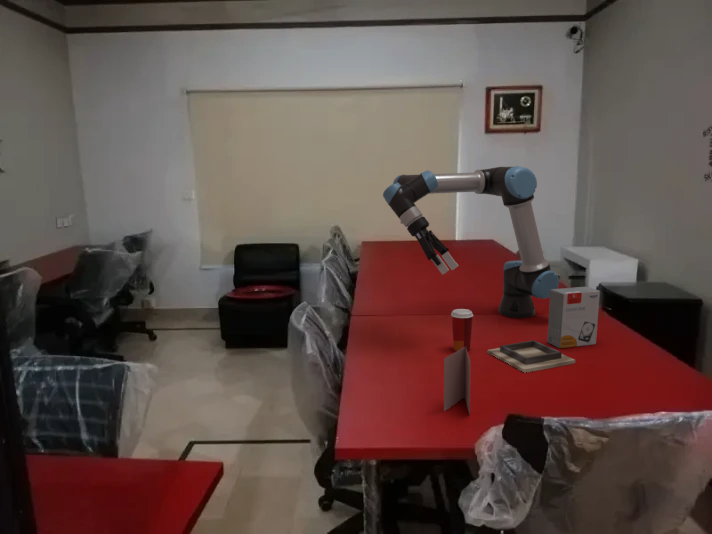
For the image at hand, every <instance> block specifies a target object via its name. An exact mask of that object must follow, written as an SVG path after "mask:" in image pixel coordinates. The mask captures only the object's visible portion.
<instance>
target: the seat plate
mask: <svg viewBox="0 0 712 534" xmlns="http://www.w3.org/2000/svg"><path fill="white" fill-rule="evenodd" d="M487 354H488V355H490V356H492V355H493V356H495V357H496V358H495V357H494V358H495V359H497V358H498V360H499V359H500V361H501V360H502V361H501V362H503V361H504V362H503V363H505V362H506V363H508V364H509V365H508V364H507V365H508V366H510V365H511V366H510V367H512V366H513V367H512V368H514V367H515V368H514V369H516V368H517V369H516V370H518V371H520V372H521V371H522V373H523V372H524V374H526V372H527V373H531V372H532V371H533V372H537V371H542V370H547V369H553V368H557V367H558V368H559V367H563V366H568V365H575V364H576V359H574V358H572V357H569V356H567V355H565V354H563V353H562V352H561V351H559V350H557V349H554V348H553V347H551V346H547V345H545V344H543V343H541V342H538V341H536V340H534V339H532V340H528V341H521V342H516V343H515V342H514V343H510V344H504V345H503V344H502V345H500V346H499V347H497V348H491V349H487ZM493 356H492V357H493ZM506 363H505V364H506Z"/></svg>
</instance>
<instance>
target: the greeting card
mask: <svg viewBox="0 0 712 534" xmlns="http://www.w3.org/2000/svg"><path fill="white" fill-rule="evenodd" d="M443 360H444V362H443V365H444V366H443V367H444V368H443V412H446V411H447V410H448V409H450V408H452V407H454V406H455V405H456V404H457V403H458V401H459V402H460V401H461V399H462V400H463V399H464V400H465V403H466V408H467V411H468V415H469V416H470V415H471V414H470V413H471V359H470V356H469V353H468V352H467V350H466V347H464V348H462V349H460V350H458V351H455V352H453V353H452V354H450V355H448V356H446V357H444V358H443ZM451 406H452V407H451Z"/></svg>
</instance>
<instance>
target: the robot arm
mask: <svg viewBox="0 0 712 534" xmlns="http://www.w3.org/2000/svg"><path fill="white" fill-rule="evenodd" d="M537 180H538V179H537V177H536V175H535V173H534V172H533V171H532V170H531V169H529V168H528V167H524V166H523V167H522V166H518V165H516V166H498V167H497V166H496V167H491V168H485V169H476V170H474V172H453V173H450V172H449V173H433V171H430V170H425V171H423V172H421V173H420V174H401V175H398V176H396V177H395V178H394V180H393V182H392V184H390V185H389V186H388V187H386V188H385V190H384V191H383V194H382V197H383V199H384V200H385V202H386V203H387V205H388V206H389V207H390V209H391V210H392V211H393V213H394V214H395V215H396V217H397V218H398V219H399V220H400V224H403V225H404V227H405V228H406V230H407V231H408V233H409V234H410V235H411V237H415V239H416V240H417V241H418V243H419V245H420V246H421V249H422V251H423V253H424V255H425V256H426V258H427V261H430V260H431V261H432V263H433V264H434V265H435V267H436V268H437V270H438V271H439V272H440V273H441V275H442V276H443V275H445V274H446V273H448V272H449V271H450V270H451V271H453V270H455V269H456V268H458V267H459V264H458V263H457V262H456V261H455V259H454V258H453V257H452V255H451V254H450V252H449V251H450V249H449V247H446V246H447V245H445V244H444V243H443V242H442V241H441V240H440V239H439V238H438V237H437V236H436V234H435V233H433V231H432V230H431V229H430V230H428V229H427V228H428V227H429V226H430V223H429V221H428V220H427V219H426V217H425V216H423V213H422V211H421V210H420V209H419V207H417V205H416V204H415V203H417V202H418V201H419V200H421V199H422V198H424V197H425V196H427V195H429V194H430V195H433V194H451V193H456V194H457V193H475V194H477V195H490V196H496V197H501V199H502V203H503V207H506V208H507V209H508V211H509V214H510V218H511V223H512V228H513V231H514V236H515V239H516V242H517V243H516V245H517V248H518V252H519V256H520V260H519V259H518V260H509V261H506V262H505V263H504V264H503V270H502V272H503V277H502V278H503V281H502V282H503V284H502V290H503V291H502V292H503V293H502V297H501V300H500V303H499V306H498V314H499V313H500V314H499V315H501V314H502V315H501V316H503V315H505V316H504V317H507V316H508V317H507V318H514V319H515V318H518V319H520V318H522V319H524V318H525V319H527V318H531V317H534V316H535V315H536V309H535V305H534V302H533V298H532V297H534V298H536V299H543V300H544V299H545V300H546V299H548V298H549V299H550V290H551V289H559V286H560V278H559V276H558V274H557V273H556V272H555V271H553V270H552V268H551V265H550V261H549V260H547V259H545V256H544V253H543V247H542V243H541V240H540V236H539V235H540V234H539V230H538V227H537V222H536V218H535V214H534V210H533V205H532V202H533V200H534V199H535V196H534V194H535V192H536V189H537V188H538V187H537V186H538V182H537ZM436 251H437V252H438V254H437V253H436ZM439 254H440V255H439ZM440 256H441V257H440ZM442 259H443V260H444V261H443V260H442ZM448 267H449V268H450V269H449V268H448Z"/></svg>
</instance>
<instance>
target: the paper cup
mask: <svg viewBox="0 0 712 534" xmlns="http://www.w3.org/2000/svg"><path fill="white" fill-rule="evenodd" d="M450 316H451V322H452V341H453V344H452V345H453V350H454V351H455V352H457V351H458V350H460V349H462V348H464V347H466V350H467V351H468V352H469V351H470V350H471V340H472V326H473V317H474V314H473V311H472V310H470V309H468V308H467V309H465V308H456V309H453V310H452V311H451V314H450Z"/></svg>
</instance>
